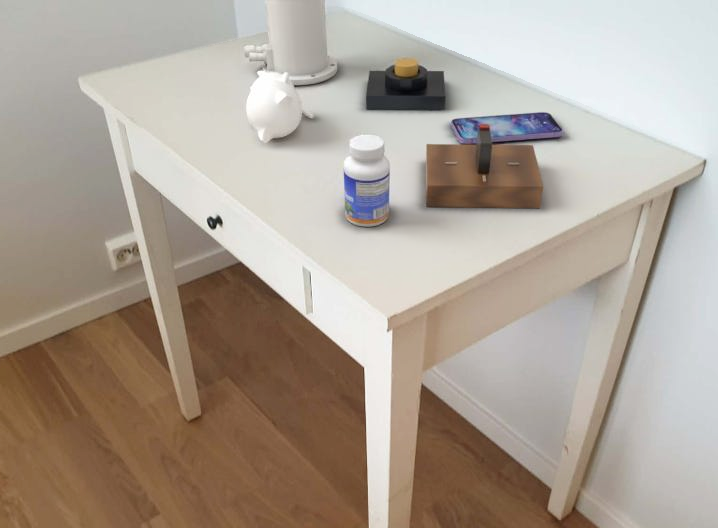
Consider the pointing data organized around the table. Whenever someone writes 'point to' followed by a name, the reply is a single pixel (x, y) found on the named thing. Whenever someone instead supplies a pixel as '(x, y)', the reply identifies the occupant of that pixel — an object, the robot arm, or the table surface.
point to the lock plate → (482, 177)
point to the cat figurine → (274, 106)
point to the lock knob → (483, 148)
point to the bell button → (406, 67)
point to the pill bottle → (366, 181)
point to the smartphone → (508, 127)
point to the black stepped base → (405, 90)
